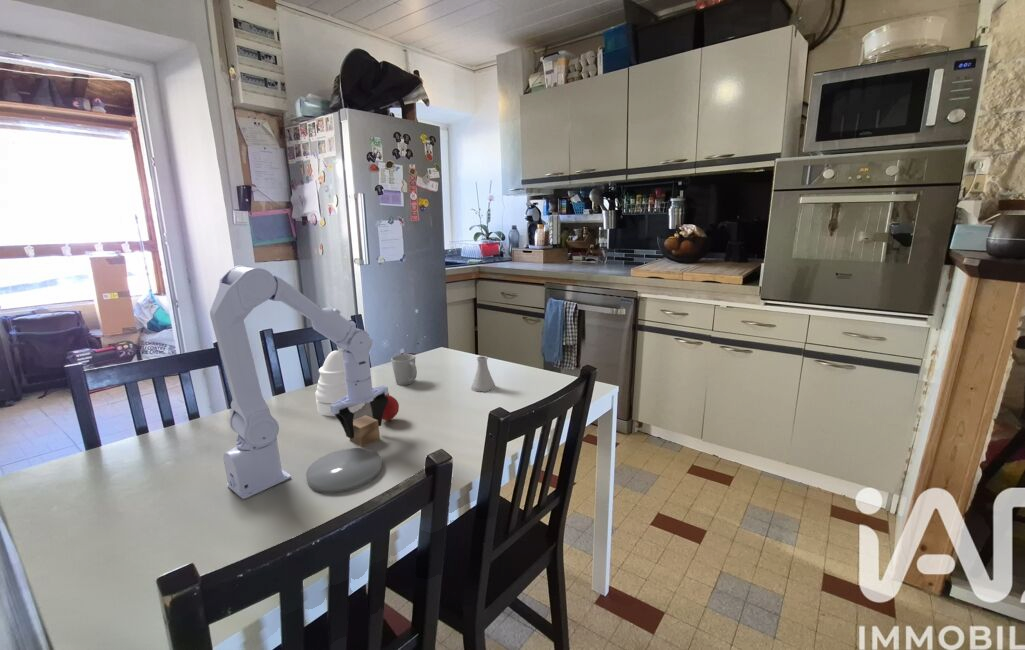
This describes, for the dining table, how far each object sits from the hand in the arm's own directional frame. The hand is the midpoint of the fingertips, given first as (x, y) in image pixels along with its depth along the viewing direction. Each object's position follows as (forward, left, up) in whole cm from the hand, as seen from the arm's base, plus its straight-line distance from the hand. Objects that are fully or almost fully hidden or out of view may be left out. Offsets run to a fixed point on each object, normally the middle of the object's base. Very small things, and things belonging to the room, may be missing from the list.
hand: (364, 430), depth 111 cm
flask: (+42, -1, -3) cm, 42 cm away
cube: (0, 0, -3) cm, 3 cm away
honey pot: (+8, +23, -3) cm, 24 cm away
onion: (+10, +4, -3) cm, 11 cm away
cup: (+31, +22, -3) cm, 38 cm away
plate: (-11, -9, -2) cm, 14 cm away
